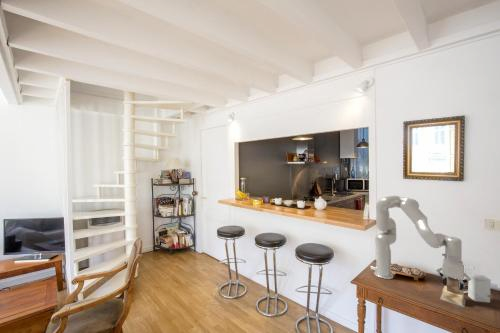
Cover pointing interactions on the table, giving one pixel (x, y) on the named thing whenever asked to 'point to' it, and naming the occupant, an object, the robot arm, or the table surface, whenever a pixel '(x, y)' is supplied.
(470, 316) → the table surface
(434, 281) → the table surface
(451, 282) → the walnut block
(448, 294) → the oak block
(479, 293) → the skincare box
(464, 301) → the blueprint board
